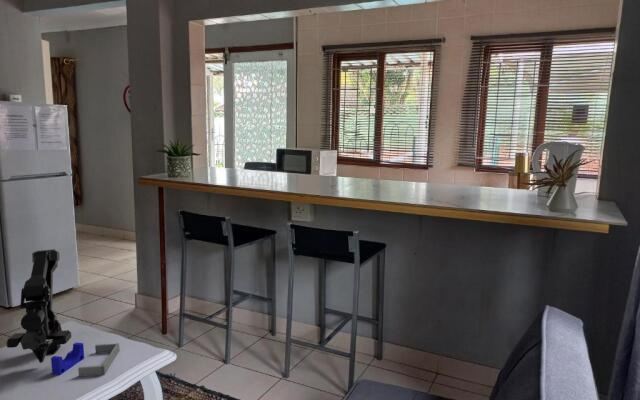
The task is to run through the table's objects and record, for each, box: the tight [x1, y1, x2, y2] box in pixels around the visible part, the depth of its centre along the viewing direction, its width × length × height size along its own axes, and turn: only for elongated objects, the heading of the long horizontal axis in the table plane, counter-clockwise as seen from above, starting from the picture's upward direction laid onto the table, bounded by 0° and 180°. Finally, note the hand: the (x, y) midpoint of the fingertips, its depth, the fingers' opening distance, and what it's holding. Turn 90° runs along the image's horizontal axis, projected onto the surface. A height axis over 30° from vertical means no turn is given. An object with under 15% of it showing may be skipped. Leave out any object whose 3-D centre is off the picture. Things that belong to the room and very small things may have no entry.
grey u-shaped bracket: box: [77, 342, 121, 378], centre depth 162 cm, size 8×18×3 cm, turn 8°
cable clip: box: [50, 341, 85, 376], centre depth 160 cm, size 12×4×6 cm, turn 170°
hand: (41, 362), depth 160 cm, fingers closed
